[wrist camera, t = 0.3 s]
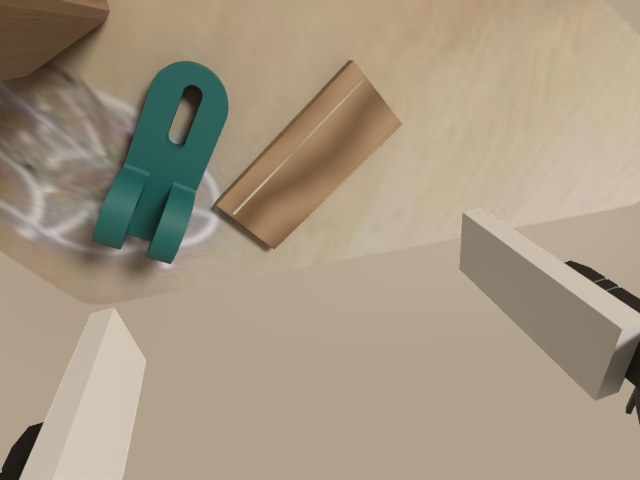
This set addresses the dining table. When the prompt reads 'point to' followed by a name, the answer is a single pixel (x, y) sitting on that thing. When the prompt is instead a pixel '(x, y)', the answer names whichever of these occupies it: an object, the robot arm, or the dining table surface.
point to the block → (42, 31)
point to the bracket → (164, 164)
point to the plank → (310, 157)
